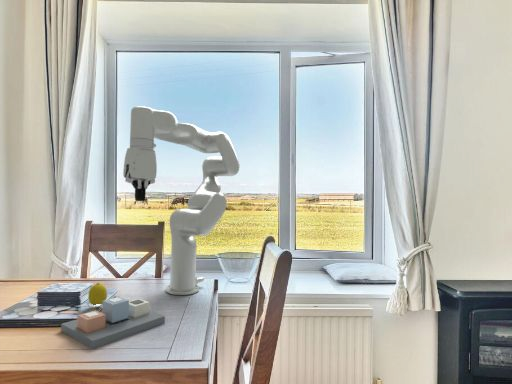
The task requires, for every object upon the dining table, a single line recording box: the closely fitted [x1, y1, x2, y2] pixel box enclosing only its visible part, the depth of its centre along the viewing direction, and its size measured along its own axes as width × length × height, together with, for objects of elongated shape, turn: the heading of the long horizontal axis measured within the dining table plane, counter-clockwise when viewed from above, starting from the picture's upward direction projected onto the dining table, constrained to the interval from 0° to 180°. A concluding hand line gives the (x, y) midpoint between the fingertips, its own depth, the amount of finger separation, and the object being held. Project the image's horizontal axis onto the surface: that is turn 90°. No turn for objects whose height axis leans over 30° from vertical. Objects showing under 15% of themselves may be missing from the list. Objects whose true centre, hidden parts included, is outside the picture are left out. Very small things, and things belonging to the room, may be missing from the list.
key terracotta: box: [77, 309, 106, 333], centre depth 94 cm, size 5×5×5 cm
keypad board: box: [60, 309, 166, 350], centre depth 99 cm, size 22×16×2 cm
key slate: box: [101, 296, 130, 324], centre depth 99 cm, size 5×5×5 cm
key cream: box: [128, 298, 150, 318], centre depth 105 cm, size 5×5×5 cm
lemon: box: [87, 282, 108, 306], centre depth 114 cm, size 6×6×8 cm
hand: (140, 200), depth 116 cm, fingers closed
